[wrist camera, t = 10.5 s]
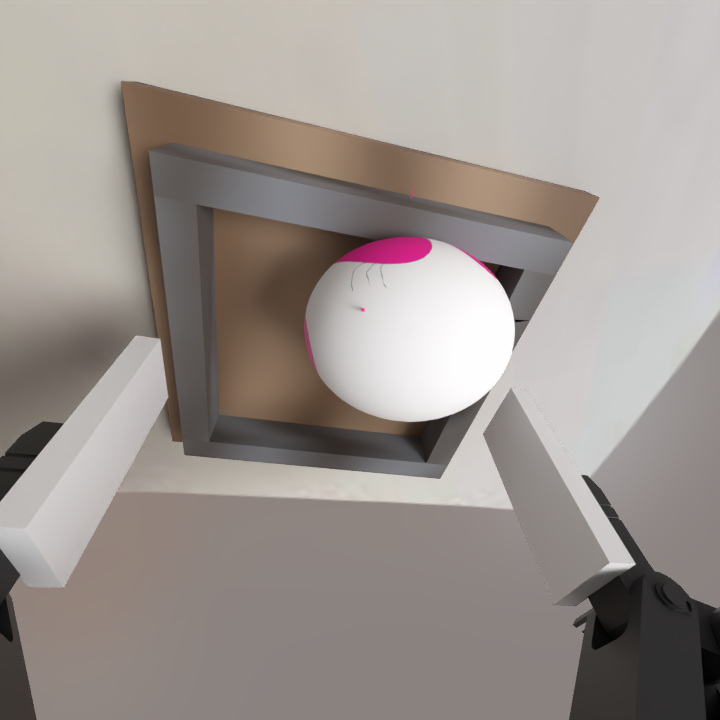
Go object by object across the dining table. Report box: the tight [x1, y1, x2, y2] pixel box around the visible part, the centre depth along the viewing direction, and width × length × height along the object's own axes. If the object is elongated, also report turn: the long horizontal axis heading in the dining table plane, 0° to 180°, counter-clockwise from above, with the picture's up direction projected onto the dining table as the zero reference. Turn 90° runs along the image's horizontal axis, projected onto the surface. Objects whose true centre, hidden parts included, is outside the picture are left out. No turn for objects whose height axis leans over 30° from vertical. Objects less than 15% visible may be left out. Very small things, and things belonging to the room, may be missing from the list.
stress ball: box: [304, 186, 529, 422], centre depth 13 cm, size 8×8×7 cm
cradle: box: [121, 81, 599, 479], centre depth 16 cm, size 16×16×3 cm
